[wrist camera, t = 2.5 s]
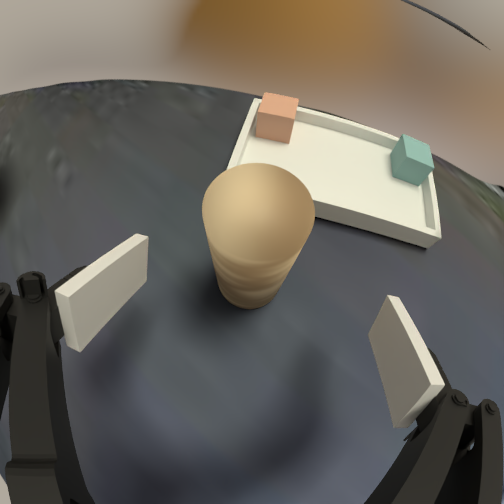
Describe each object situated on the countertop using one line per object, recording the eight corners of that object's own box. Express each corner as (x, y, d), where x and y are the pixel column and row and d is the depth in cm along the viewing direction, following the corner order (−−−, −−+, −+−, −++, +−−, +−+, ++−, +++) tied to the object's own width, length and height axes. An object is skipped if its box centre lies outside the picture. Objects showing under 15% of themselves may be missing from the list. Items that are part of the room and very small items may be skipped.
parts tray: (224, 195, 25) (222, 179, 23) (253, 114, 30) (254, 98, 27) (427, 248, 24) (441, 238, 22) (417, 162, 29) (427, 149, 26)
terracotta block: (255, 136, 27) (257, 111, 24) (262, 116, 28) (264, 92, 25) (289, 143, 27) (294, 119, 23) (293, 123, 28) (298, 99, 25)
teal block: (392, 176, 26) (406, 156, 23) (390, 154, 27) (402, 133, 24) (418, 186, 26) (434, 168, 23) (415, 163, 27) (428, 144, 24)
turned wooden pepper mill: (210, 300, 22) (186, 244, 11) (226, 243, 23) (220, 154, 13) (273, 315, 21) (306, 272, 11) (285, 257, 23) (320, 176, 13)
